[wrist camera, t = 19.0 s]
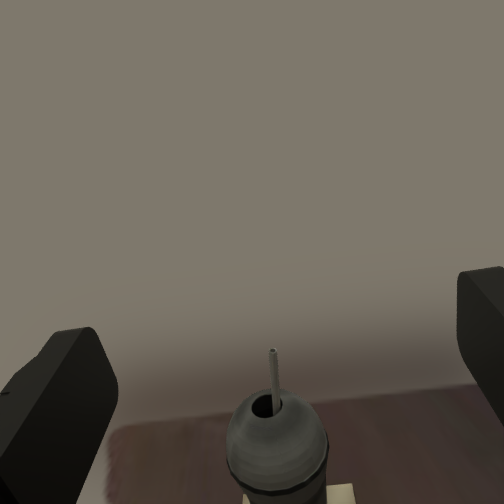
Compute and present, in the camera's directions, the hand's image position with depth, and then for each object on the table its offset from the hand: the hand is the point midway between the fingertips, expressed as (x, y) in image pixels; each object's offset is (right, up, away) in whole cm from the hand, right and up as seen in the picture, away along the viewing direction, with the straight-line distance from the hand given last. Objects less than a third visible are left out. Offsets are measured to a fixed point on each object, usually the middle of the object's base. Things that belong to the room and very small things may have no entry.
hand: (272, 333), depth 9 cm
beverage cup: (+4, -22, +25) cm, 34 cm away
